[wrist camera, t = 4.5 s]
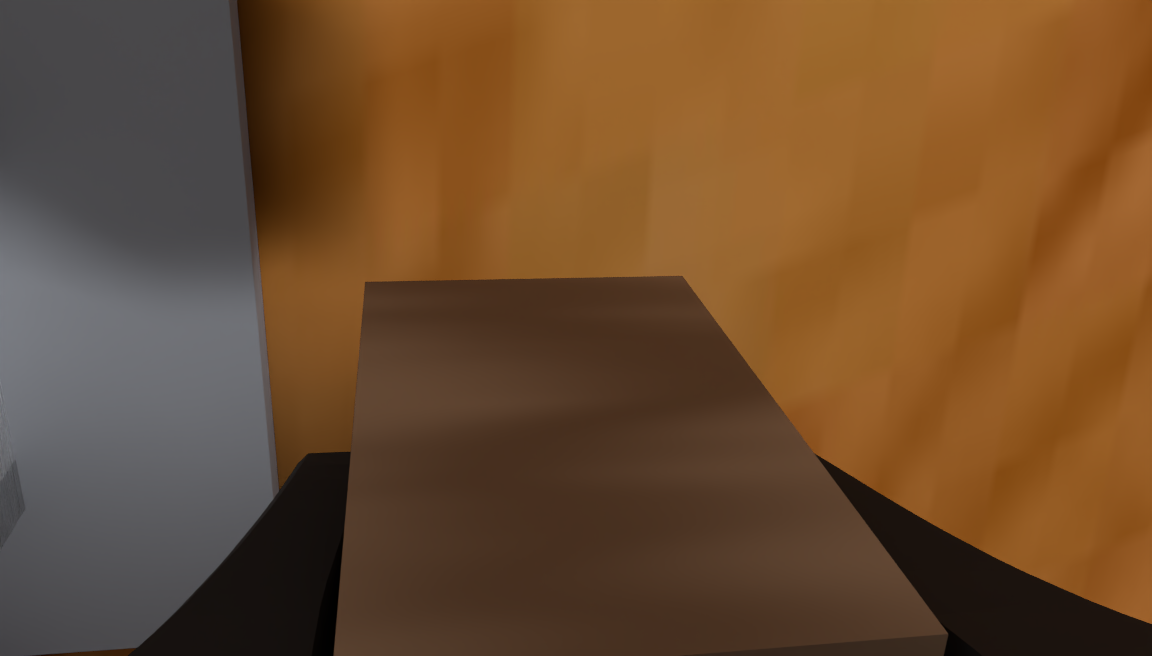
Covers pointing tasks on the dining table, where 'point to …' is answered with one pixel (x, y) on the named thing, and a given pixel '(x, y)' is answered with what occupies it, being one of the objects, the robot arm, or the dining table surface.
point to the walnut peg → (593, 487)
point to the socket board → (125, 317)
